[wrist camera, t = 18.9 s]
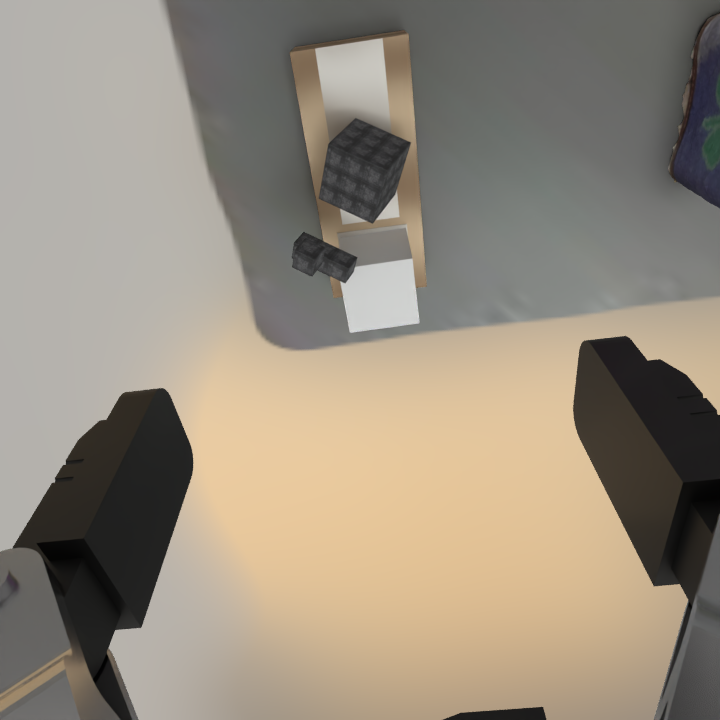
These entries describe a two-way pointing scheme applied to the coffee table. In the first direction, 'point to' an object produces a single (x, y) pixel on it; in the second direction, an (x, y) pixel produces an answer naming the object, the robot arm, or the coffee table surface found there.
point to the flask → (701, 119)
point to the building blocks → (353, 191)
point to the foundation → (369, 104)
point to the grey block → (380, 281)
